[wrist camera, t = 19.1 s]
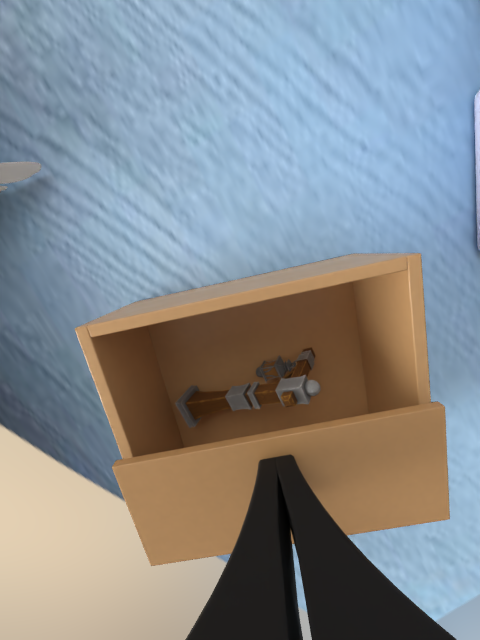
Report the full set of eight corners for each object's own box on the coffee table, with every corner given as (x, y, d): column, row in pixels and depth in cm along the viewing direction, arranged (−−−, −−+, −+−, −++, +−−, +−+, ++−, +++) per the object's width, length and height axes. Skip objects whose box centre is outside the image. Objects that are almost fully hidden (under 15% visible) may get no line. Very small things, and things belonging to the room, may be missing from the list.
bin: (374, 422, 18) (438, 503, 12) (183, 457, 19) (155, 549, 13) (354, 253, 15) (421, 252, 10) (134, 301, 16) (73, 328, 10)
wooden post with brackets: (334, 361, 15) (325, 416, 12) (222, 385, 19) (187, 431, 16) (323, 333, 15) (309, 380, 11) (211, 363, 19) (172, 405, 15)
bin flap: (443, 510, 12) (450, 519, 11) (153, 557, 12) (150, 566, 12) (438, 400, 10) (445, 406, 10) (115, 459, 11) (111, 467, 11)
